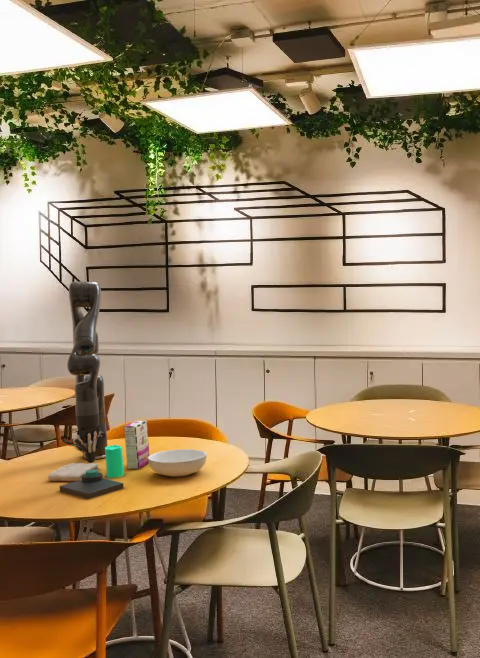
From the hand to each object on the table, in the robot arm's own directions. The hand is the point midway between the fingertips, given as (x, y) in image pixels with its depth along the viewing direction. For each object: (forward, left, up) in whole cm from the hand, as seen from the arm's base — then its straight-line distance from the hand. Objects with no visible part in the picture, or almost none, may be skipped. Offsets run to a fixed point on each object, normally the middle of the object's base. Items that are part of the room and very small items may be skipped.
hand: (90, 462), depth 231 cm
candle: (-3, +12, -8) cm, 15 cm away
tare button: (0, 0, -5) cm, 5 cm away
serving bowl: (+15, +26, -8) cm, 31 cm away
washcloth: (-16, +4, -8) cm, 18 cm away
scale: (+5, -4, -8) cm, 10 cm away
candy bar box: (-7, +26, -8) cm, 28 cm away
